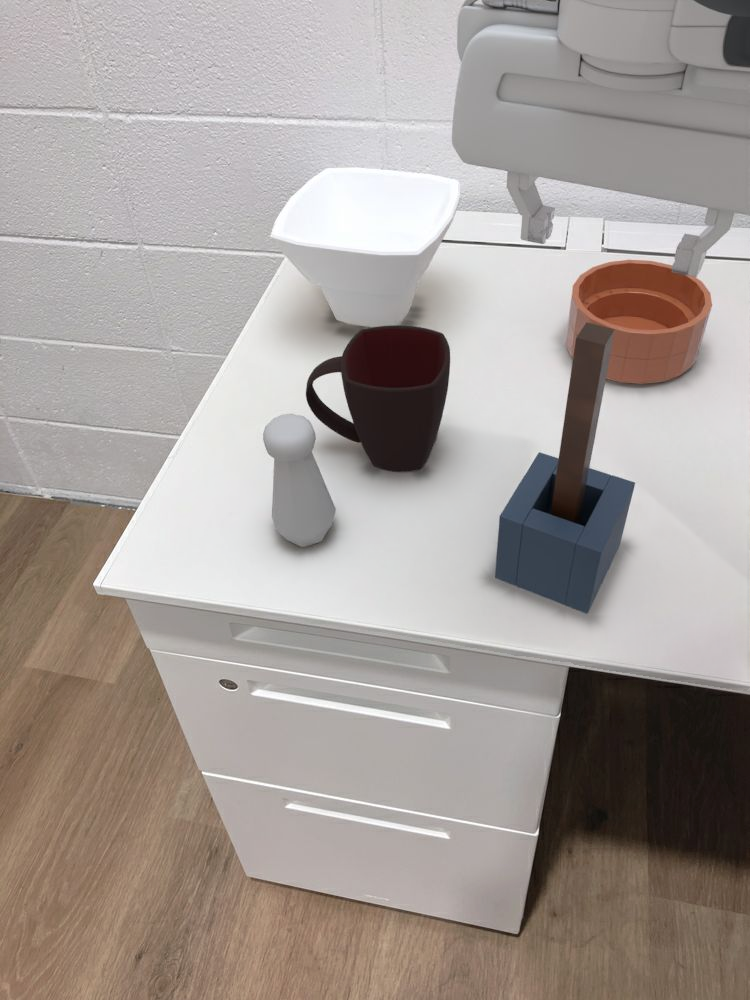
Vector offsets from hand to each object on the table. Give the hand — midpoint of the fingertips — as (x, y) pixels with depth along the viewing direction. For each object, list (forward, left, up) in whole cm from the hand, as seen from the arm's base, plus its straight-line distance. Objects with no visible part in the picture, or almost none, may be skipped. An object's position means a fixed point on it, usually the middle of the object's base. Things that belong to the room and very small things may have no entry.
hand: (608, 253), depth 49 cm
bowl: (+34, -27, -30) cm, 53 cm away
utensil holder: (0, 0, -30) cm, 30 cm away
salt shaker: (+22, +7, -30) cm, 38 cm away
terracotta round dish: (+4, -33, -30) cm, 45 cm away
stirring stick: (0, 0, -30) cm, 30 cm away
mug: (+21, -5, -30) cm, 37 cm away
